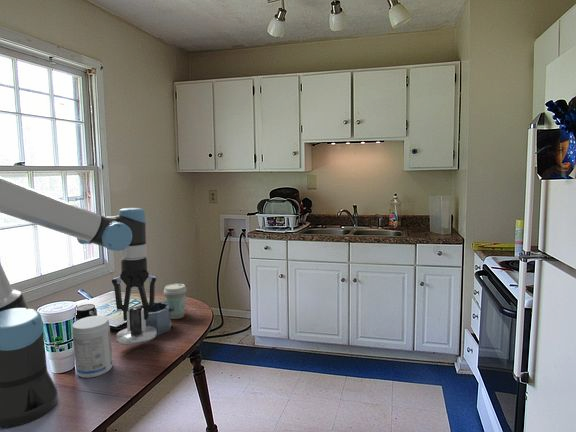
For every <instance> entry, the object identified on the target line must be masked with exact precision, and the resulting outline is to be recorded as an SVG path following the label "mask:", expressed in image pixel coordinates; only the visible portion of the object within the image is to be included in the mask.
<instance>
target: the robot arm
mask: <svg viewBox="0 0 576 432" xmlns="http://www.w3.org/2000/svg"><path fill="white" fill-rule="evenodd" d="M0 213H1V214H3V215H7V216H11V217H14V218H16V219H19V220H22V221H25V222H29V223H31V224H35V225H37V226H40V227H43V228H46V229H49V230H53V231H55V232H58V233H61V234H65V235H68V236H71V237H74V238H76V240H77V242H78V243H79V244H81V245H87V244H88V245H91V244H94V245H97V246H100V247H103V248H105V249H107V250H110V251H113V252H115V251H116V252H119V251H120V257H121V259H120V265H121V267H120V268H121V273H120V275H119V276H117V277H116V276H115V277H114V278H113V279H111V283H112V285H113V287H114V295H115V304H116V307H115V308H116V310H118V311H119V310H121V311H122V313H123V315H122V316H123V321H124V322H126V325H127V326H126V328H127V332H130V331H131V327H130V306H129V305H130V300H131V294H132V293H131V292H132V288H137V289H138V292H139V297H140V300H141V301H140V302H141V305H143V308H142V310H141V325H142V331H144V330H145V328H146V322H145V320H147V319H148V317H149V311H148V309H149V308H153V306H154V302H155V299H156V297H155V295H156V294H155V291H156V289H155V288H156V281H157V280H158V279H157V278H158V276H156V275H151V274H150V273H149V271H148V261H147V260H148V259H147V257H146V256H147V255H148V254H147V253H148V252H147V238H146V237H147V226H146V225H147V221H146V214H145V210H144V209H143V208H141V207H125V208H121V209H119V211H118V215H113V216H104V215H101V214H98V213H96V212H93V211H90V210H88V209H86V208H83V207H80V206H78V205H75V204H72V203H69V202H67V201H65V200H62V199H60V198H57V197H54V196H53V195H49V194H46V193H43V192H42V191H39V190H36V189H33V188H31V187H28V186H26V185H23V184H21V183H18V182H15V181H13V180H11V179H8V178H5V177H2V176H0ZM8 279H9V278H8V277H7V275H6V272H5V270H4V268H3V266H2V264H1V262H0V429H3V428H12V427H13V428H14V427H18V426H21V425H23V424H27V423H29V422H32V421H35V420H37V419H39V418H40V417H43V416H44V415H45V414H47V413H49V412H50V411H51V410H52V409H53V408H54V407H55V406H56V405H57V404H58V401H59V394H58V393H59V391H58V388H57V386H56V384H55V382H54V381H53V378H52V377H51V375H50V374H49V372H48V366H47V357H46V346H45V336H44V335H45V334H44V321H43V318H42V315H41V313H40V312H39V311H38V310H36V309H35V308H34V309H33V308H29V306H28V304H27V302H26V300H25V297H24V296H23V293H22V291H21V290H19V289H14V288H12V286H11V284H10V283H11V282H10V281H9V280H8ZM147 279H148V283H149V298H147V294H146V289H145V283H146V281H147ZM121 282H123V283H124V284H125V292H124V299H123V298H122V296H123V295H122V289H121ZM148 299H149V304H148Z"/></svg>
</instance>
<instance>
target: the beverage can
mask: <svg viewBox="0 0 576 432" xmlns="http://www.w3.org/2000/svg"><path fill="white" fill-rule="evenodd" d="M76 307H77V315H76V321H77V320H80V319H82V318H85V317H90V316H98V309H97V308H96V305H95V304H94V303H86V304H81V305H78V306H76Z"/></svg>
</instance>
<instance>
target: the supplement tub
mask: <svg viewBox="0 0 576 432" xmlns="http://www.w3.org/2000/svg"><path fill="white" fill-rule="evenodd" d="M71 330H72V332H71V333H72V343H73V344H72V345H73V351H74V352H73V354H74V360H75V362H74V363H75V372H76V374H77V376H79V377H80V378H86V379H87V378H90V379H91V378H96V377H100V376H102V375H105V374H106V373H108V372H109V371H110V370H111V369H112V367H113V365H114V362H113V349H112V340H111V338H112V337H111V327H110V322H109V318H108V316H106V315H105V316H104V315H97V316H90V317H85V318H82V319H80V320H77V321H76V322H75V321H74V322H72V329H71Z"/></svg>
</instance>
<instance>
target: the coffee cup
mask: <svg viewBox="0 0 576 432" xmlns="http://www.w3.org/2000/svg"><path fill="white" fill-rule="evenodd" d="M186 293H187V287H186V285H185V284H184V283H171V284H167V285H165V286H164V289H163V294H164V297H165V298H164V299H165V303H169V304H170V307H174V311H171V320H178V319H182V318H184V317H185V312H186V311H185V310H186V298H187V297H186V296H187V294H186Z"/></svg>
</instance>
